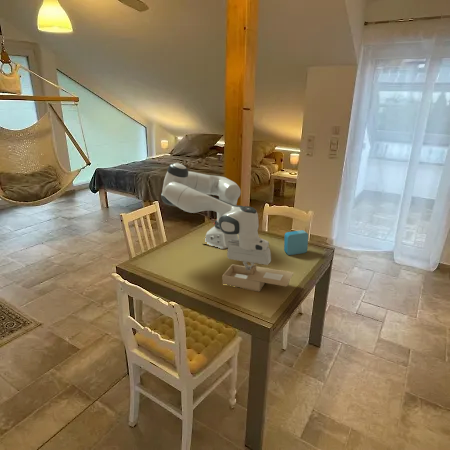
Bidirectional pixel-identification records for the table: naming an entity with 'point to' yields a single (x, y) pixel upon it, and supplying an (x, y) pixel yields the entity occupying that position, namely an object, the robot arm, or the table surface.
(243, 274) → the box
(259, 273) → the lid
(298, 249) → the data package
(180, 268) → the table surface
